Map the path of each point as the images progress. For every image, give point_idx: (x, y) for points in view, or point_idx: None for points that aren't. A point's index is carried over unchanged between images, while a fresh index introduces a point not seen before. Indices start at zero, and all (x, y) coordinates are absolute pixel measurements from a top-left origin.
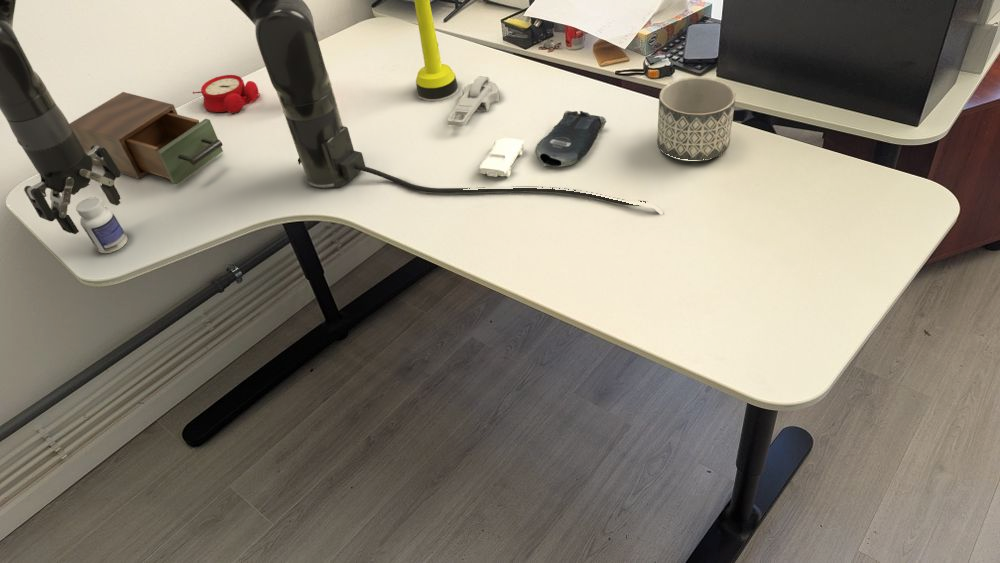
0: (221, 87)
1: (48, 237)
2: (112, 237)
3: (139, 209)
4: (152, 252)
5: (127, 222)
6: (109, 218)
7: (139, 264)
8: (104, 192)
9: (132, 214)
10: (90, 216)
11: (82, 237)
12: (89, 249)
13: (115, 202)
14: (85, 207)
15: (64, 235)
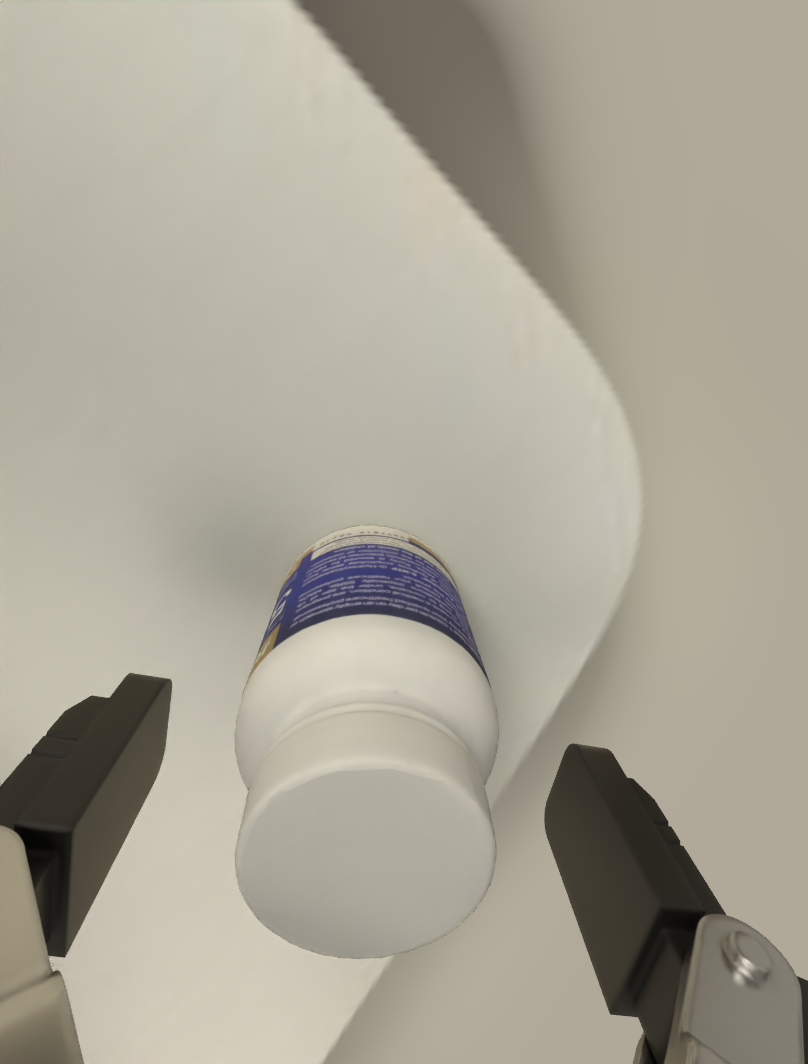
0: None
1: None
2: (410, 565)
3: (44, 669)
4: (382, 281)
5: (173, 657)
6: (353, 621)
7: (507, 294)
8: (109, 860)
9: (100, 678)
10: (462, 747)
11: None
12: None
13: (159, 700)
14: (425, 855)
15: None
